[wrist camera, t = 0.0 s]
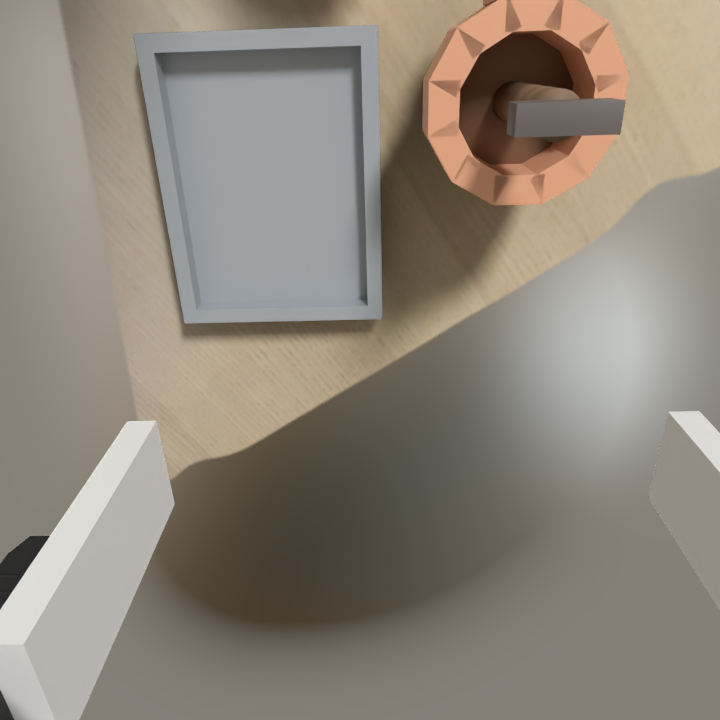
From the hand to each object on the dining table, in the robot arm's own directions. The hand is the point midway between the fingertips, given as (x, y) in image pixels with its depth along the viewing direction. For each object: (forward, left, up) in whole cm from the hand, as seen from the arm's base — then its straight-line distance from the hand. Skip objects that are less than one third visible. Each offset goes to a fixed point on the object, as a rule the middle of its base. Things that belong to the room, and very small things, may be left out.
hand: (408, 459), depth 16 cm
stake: (-7, +7, -28) cm, 30 cm away
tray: (-2, -7, -28) cm, 29 cm away
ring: (-9, +7, -22) cm, 25 cm away
